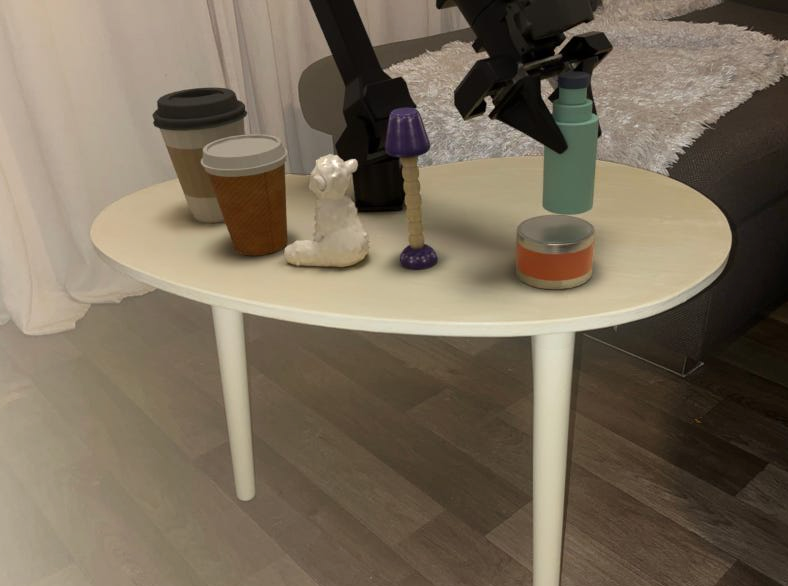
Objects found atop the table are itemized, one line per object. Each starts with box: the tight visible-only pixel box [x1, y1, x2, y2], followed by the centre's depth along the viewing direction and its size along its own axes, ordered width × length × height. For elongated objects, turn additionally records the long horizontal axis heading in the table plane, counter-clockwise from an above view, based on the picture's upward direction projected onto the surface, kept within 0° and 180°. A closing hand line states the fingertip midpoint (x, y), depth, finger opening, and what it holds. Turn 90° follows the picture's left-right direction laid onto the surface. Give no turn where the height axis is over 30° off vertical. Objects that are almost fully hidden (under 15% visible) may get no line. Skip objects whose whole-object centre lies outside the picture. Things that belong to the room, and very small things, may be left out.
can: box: [515, 214, 596, 290], centre depth 80 cm, size 8×8×5 cm
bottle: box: [541, 71, 600, 216], centre depth 75 cm, size 5×5×13 cm
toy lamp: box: [385, 108, 438, 270], centre depth 80 cm, size 5×5×17 cm
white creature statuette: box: [284, 153, 371, 268], centre depth 83 cm, size 10×9×12 cm
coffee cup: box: [152, 87, 249, 224], centre depth 96 cm, size 11×11×15 cm
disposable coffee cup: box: [201, 133, 288, 256], centre depth 87 cm, size 10×10×12 cm
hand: (581, 144), depth 74 cm, fingers closed on bottle, 5 cm apart
